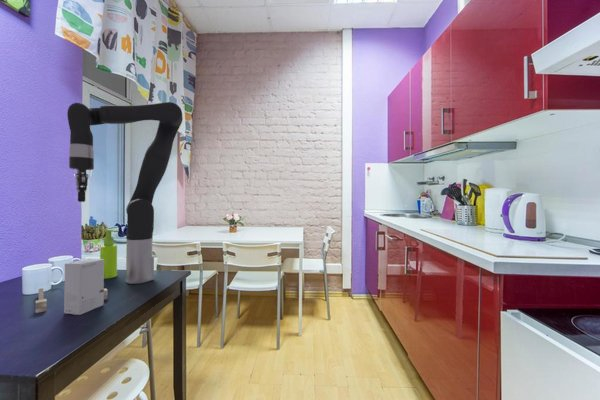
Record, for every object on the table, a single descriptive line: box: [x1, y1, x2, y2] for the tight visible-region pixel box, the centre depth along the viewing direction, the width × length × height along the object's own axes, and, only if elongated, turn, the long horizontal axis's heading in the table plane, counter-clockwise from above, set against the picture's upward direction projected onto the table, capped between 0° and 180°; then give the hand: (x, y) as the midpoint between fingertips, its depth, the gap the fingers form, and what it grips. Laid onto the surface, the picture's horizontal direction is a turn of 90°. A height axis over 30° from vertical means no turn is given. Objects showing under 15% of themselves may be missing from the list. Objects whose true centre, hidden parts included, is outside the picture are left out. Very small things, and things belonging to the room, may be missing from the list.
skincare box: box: [63, 258, 105, 316], centre depth 86 cm, size 8×6×15 cm
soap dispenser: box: [99, 228, 120, 280], centre depth 120 cm, size 6×7×20 cm
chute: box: [35, 288, 109, 314], centre depth 95 cm, size 18×18×3 cm
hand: (81, 201), depth 110 cm, fingers closed
